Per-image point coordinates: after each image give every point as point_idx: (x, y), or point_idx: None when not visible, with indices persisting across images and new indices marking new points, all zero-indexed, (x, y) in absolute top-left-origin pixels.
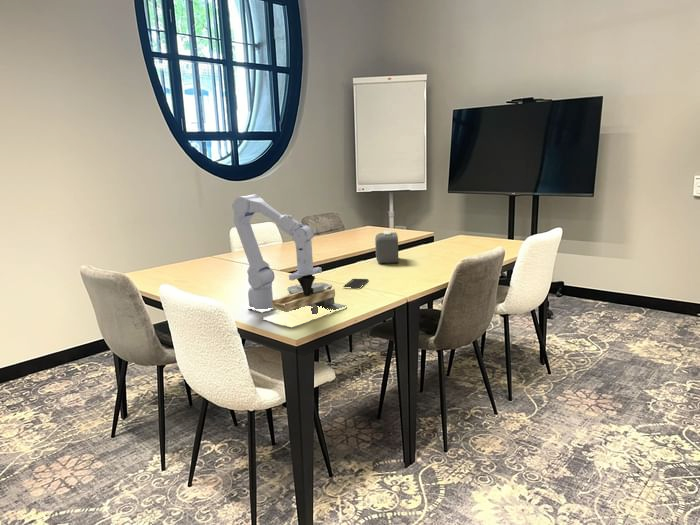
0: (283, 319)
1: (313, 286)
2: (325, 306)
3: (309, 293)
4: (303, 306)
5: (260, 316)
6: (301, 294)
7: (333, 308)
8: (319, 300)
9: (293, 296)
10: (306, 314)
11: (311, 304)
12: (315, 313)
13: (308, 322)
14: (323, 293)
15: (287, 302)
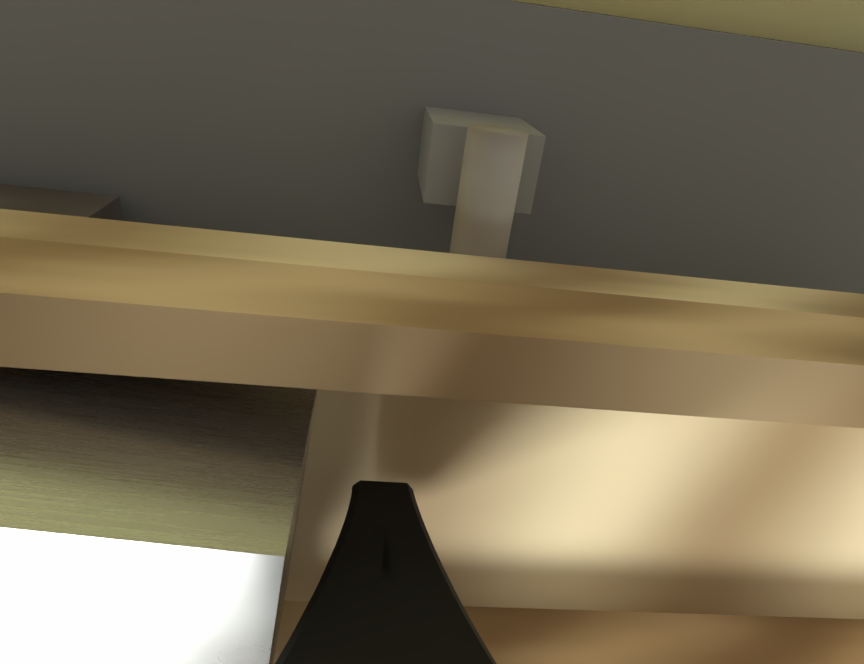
0: None
1: (130, 655)
2: (106, 199)
3: (376, 507)
4: (723, 281)
5: None
6: None
7: (29, 33)
8: (252, 241)
9: (577, 661)
10: None
11: (501, 256)
12: (495, 116)
13: (758, 32)
14: (28, 279)
15: (753, 580)
